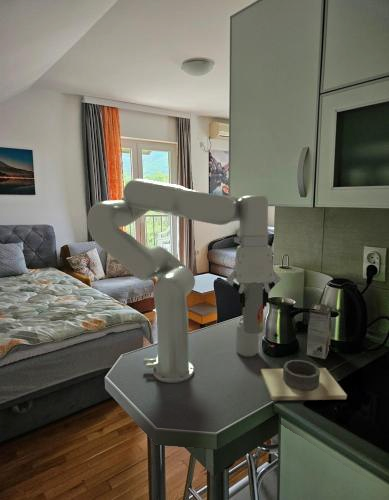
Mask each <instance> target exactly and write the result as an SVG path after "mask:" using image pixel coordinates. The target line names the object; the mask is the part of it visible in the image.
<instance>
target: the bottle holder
mask: <svg viewBox="0 0 389 500" xmlns="http://www.w3.org/2000/svg"><path fill="white" fill-rule="evenodd" d="M260 374H261V377H262V379H263V382H264V383H265V386H266V389H267V391H268V394H269V396H270V398H271V400H272V401H318V400H319V401H320V400H322V401H325V400H327V401H328V400H329V401H331V400H347V397H348V394H347V393H346V392H345V391H344V389H343V388H342V387H341V386H340V384H339V383H338V382H337V381H336V379H335V378H334V377H333V376H332V375H331V373H330V372H329V371H328V370H327V368H326V367H318V366H317V365H316V364H315V363H312V362H310V361H307V360H302V359H291V360H288V361H285V363H284V365H283V367H282V368H260Z"/></svg>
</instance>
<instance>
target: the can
mask: <svg viewBox="0 0 389 500" xmlns="http://www.w3.org/2000/svg"><path fill="white" fill-rule="evenodd" d="M235 334H236V336H235V337H236V340H235V343H236V344H235V346H236V349H235V350H236V352H237V353H238V355H240V356H242V357H247V358H251V357H255V355H257V354H258V352H259V333H258V334H249V333H246V332H245V331H244V330H243V317H240V318H239V319H238V320H237V322H236V333H235Z"/></svg>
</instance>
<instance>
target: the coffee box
mask: <svg viewBox="0 0 389 500" xmlns="http://www.w3.org/2000/svg"><path fill="white" fill-rule="evenodd" d="M326 305H327V304H326V303H325V304H324V303H319V302H313V304H312V305H311V307H310V309H315V310H310V309H309V310H308V323H307V324H308V326H307V328H308V329H307V342H306V355H307V356H309V357H310V356H311V357H315V358H320V359H322V360H326V359H327V357H328V353H329V352H330V349H329V345H330V346H331V337H330V331H331V332H332V320H331V311H332V312H333V306H332V307H329V306H330V305H329V306H326Z"/></svg>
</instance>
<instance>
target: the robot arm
mask: <svg viewBox="0 0 389 500" xmlns="http://www.w3.org/2000/svg"><path fill="white" fill-rule="evenodd" d="M122 192H123V197H121V198H120V199H117V200H116V199H115V200H102V201H99V202H96V203H95V204H94V205H92V206H91V208H90V209H89V210H88V213H87V217H86V223H87V229H88V232H89V234H90V237H91V238H92V240H93V241H94V242H95V243H96V244H97V245H98V246H99V247H100V248H101V249H103V251H104V252H106V253H108V255H110V256H111V257H112V258H114V259H115V260H116V261H117V262H118V264H121V266H122V267H123V268H125V269H126V270H127V271H128V272H129V273H131V274H132V275H133V276H135V277H136V279H138V280H139V281H144V282H145V281H150V280H152V279H154V278H157V280H156V282H155V284H154V287H153V300H154V301H153V302H154V305H155V311H156V312H155V314H156V315H155V316H156V334H157V335H156V341H157V343H156V345H157V356H156V357H154V358H143V366H146V369H152V374H153V377H154V378H155V379H156V380H159V381H160V382H163V383H167V384H168V383H169V384H173V383H174V384H175V383H181V382H185V381H186V380H189V379H190V378H191V377H192V376H193V375H194V372H195V371H194V370H195V369H194V365H193V364H192V363H191V362H189V360H190V359H189V356H190V353H189V345H190V344H189V343H190V342H189V312H188V311H189V310H188V306H187V296H189V294H190V293H191V292H192V291H193V289H194V287H195V284H196V279H195V276H194V275H195V274H194V273H193V272H192V270H191V269H190V268H189V267H187V266H186V265H185V264H184V263H183V262H182V261H181V260H179V259H178V258H177V257H176V256H175V255H173V254H172V253H171V252H170V251H168V250H167V249H165V248H164V247H162V246H160V245H149V246H146V245H144V244H142V243H141V242H140V241H138V239H136V238H135V237H134V236H132V235H131V234H129V233H128V232H126V231H125V230H122V229H121V228H122V227H126V226H129V225H130V224H132V223H134V222H136V220H138V219H140V218H141V217H143V216H144V215H146V213H148V212H155V213H161V214H166V215H169V216H170V215H171V216H176V217H179V218H183V219H187V220H191V221H197V222H201V223H206V224H211V225H219V226H220V225H221V226H223V225H228V224H229V223H231V222H232V223H233V222H239V234H238V236H237V237H234V239H233V241H234V243H236V244H239V245H237V248H236V252H235V260H234V262H235V263H234V269H233V271H232V272H231V273H230V274H229V275H228V277H227V278H226V282H227V283H228V284H229V285H231V287H233V288H234V289H235V290H236V291H237V292H238V303H239V304H240V305H241V307H242V308H243V307H245V294H244V293H243V290H244V284H250V283H253V282H256V283H259V284H263V308H264V307H265V308H266V307H267V305H268V304H269V302H270V301H269V299H270V298H269V293H270V292H271V290H273V288H274V287H275V286H276V285H277V284H278V283H280V281H281V280H282V279H281V277H280V276H279V275H278V273H276V271H275V269H274V260H273V251H272V246H271V245H269V243H268V242H269V241H268V239H269V235H268V234H269V232H268V231H269V228H268V227H269V225H268V224H269V199H268V197H267V196H265V195H262V194H261V195H260V194H259V195H258V194H257V195H256V194H255V195H244V196H238V195H237V196H236V195H235V196H234V195H224V194H223V195H221V194H216V193H208V192H203V191H197V190H193V189H189V188H187V187H185V186H183V185H180V184H172V183H166V182H161V181H155V180H152V179H151V180H150V179H144V178H134V179H131V180H129V181H128V182H127V183H126V184H125V186H124V188H123V191H122ZM235 280H236V281H235Z"/></svg>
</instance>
